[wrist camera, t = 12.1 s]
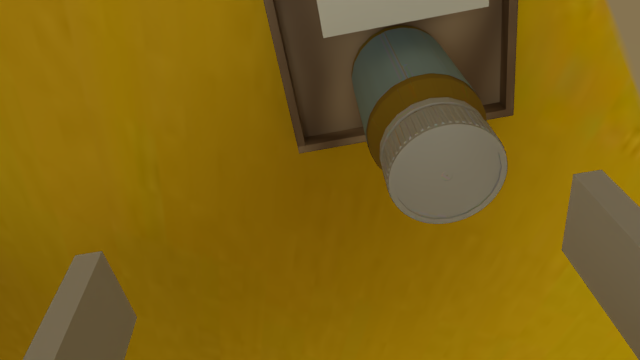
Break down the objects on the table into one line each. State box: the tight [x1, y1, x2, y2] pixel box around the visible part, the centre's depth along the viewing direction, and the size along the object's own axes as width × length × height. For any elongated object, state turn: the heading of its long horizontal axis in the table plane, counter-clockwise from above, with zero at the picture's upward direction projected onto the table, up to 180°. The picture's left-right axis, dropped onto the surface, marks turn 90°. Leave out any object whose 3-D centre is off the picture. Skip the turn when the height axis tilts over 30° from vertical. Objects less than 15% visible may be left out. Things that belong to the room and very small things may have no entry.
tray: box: [264, 0, 518, 153], centre depth 36 cm, size 17×16×2 cm
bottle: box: [352, 25, 507, 224], centre depth 32 cm, size 7×7×15 cm
